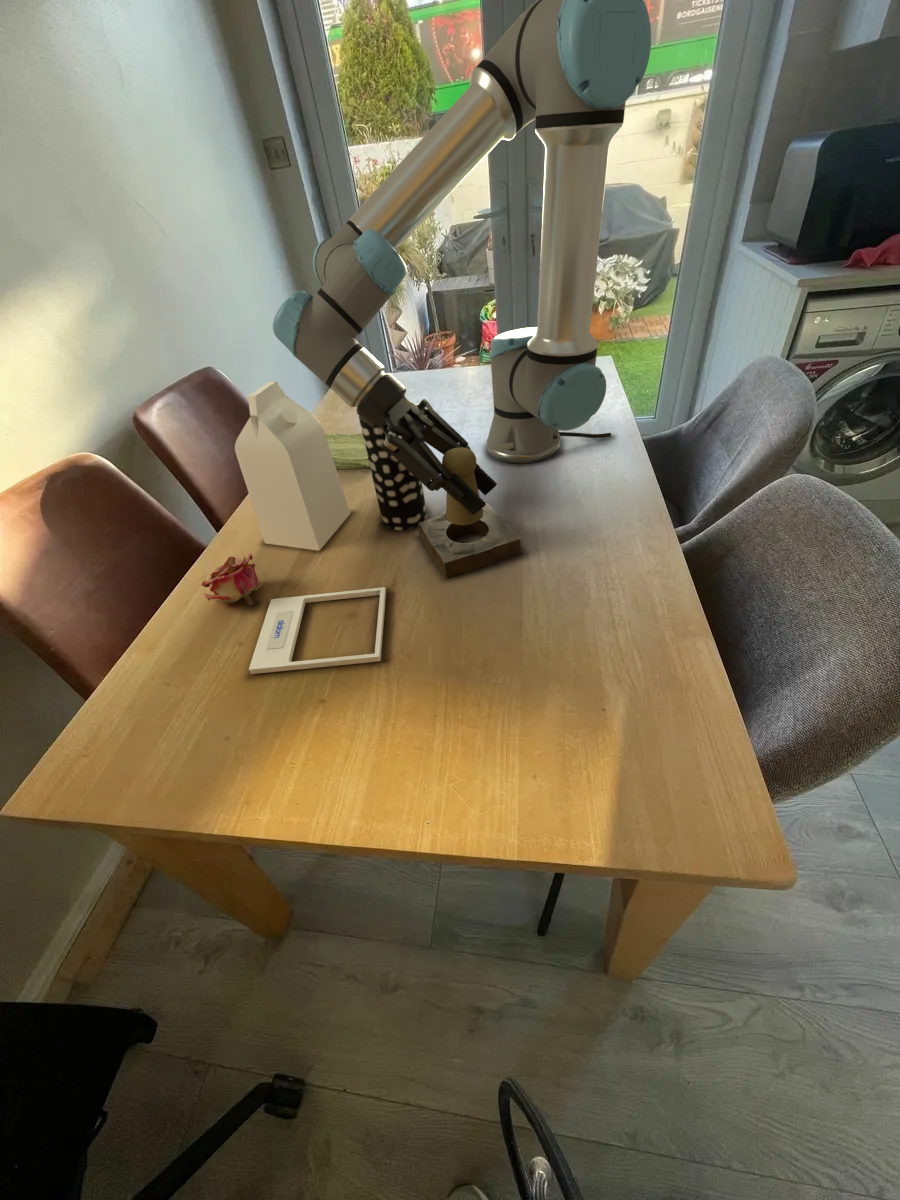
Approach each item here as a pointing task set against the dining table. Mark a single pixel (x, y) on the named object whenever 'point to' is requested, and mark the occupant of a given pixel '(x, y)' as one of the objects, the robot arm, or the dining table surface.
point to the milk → (289, 472)
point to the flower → (233, 580)
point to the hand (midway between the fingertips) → (485, 499)
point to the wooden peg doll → (463, 467)
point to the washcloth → (348, 450)
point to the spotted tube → (393, 484)
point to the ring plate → (469, 555)
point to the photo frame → (284, 629)
